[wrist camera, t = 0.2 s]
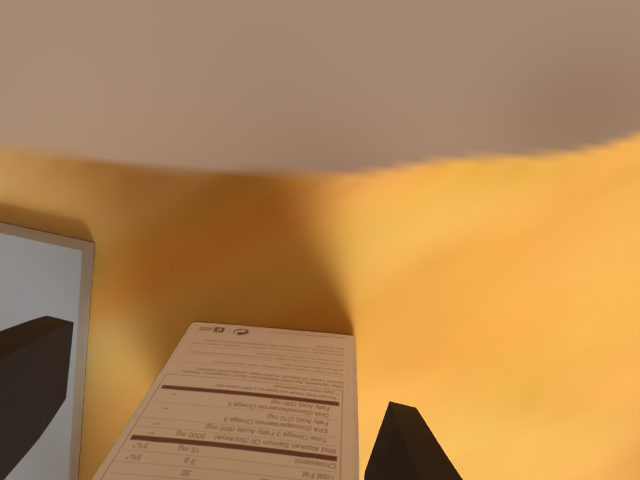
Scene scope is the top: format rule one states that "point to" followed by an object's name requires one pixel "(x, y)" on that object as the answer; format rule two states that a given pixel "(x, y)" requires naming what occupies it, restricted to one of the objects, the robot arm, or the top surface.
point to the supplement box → (245, 409)
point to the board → (60, 302)
